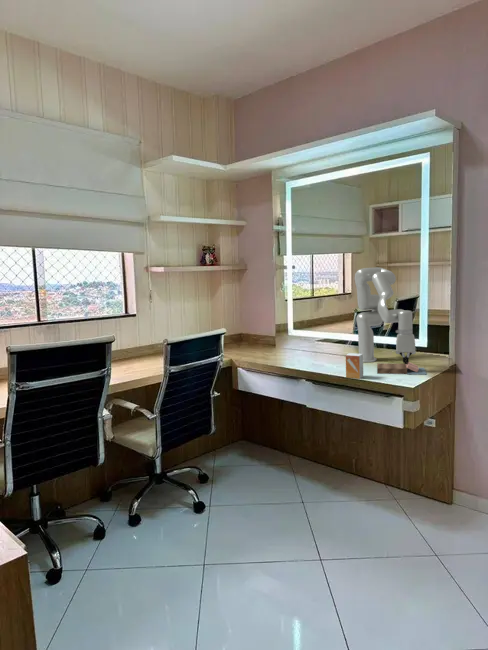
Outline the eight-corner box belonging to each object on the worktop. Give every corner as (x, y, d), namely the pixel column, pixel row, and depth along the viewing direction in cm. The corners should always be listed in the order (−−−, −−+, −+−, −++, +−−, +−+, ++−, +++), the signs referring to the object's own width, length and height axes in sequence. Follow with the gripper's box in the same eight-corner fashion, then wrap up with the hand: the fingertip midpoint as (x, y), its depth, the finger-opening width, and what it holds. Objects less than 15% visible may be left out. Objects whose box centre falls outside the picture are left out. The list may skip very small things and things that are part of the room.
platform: (377, 373, 249) (377, 368, 248) (377, 368, 261) (377, 363, 261) (407, 373, 244) (407, 368, 243) (405, 368, 256) (405, 363, 256)
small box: (345, 377, 243) (345, 355, 242) (349, 375, 249) (349, 352, 247) (360, 379, 239) (359, 355, 237) (363, 376, 244) (363, 353, 242)
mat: (407, 374, 243) (407, 373, 243) (405, 368, 257) (405, 367, 257) (426, 374, 240) (426, 374, 240) (423, 368, 254) (423, 367, 254)
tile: (406, 367, 245) (408, 364, 245) (405, 364, 254) (407, 361, 253) (417, 372, 244) (418, 369, 244) (415, 368, 253) (417, 365, 252)
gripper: (391, 333, 246) (392, 365, 248) (420, 333, 241) (420, 365, 244) (391, 331, 253) (392, 362, 255) (419, 331, 248) (419, 362, 251)
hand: (405, 363), depth 249 cm, fingers closed
